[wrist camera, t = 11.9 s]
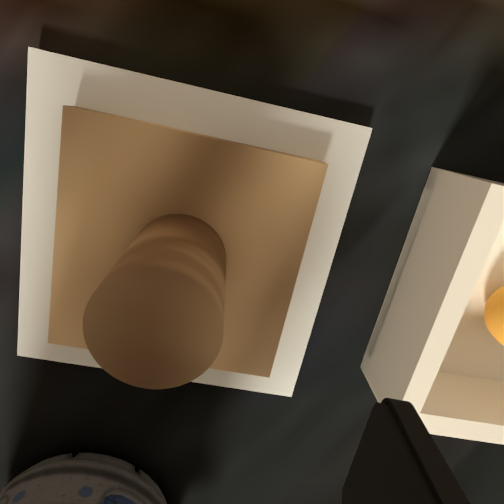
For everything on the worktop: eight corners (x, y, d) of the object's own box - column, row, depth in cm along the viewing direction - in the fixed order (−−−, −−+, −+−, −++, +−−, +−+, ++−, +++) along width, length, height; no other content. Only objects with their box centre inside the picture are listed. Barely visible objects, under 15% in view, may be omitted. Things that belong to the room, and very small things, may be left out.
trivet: (366, 127, 18) (372, 128, 17) (289, 387, 22) (291, 396, 21) (37, 49, 16) (28, 46, 15) (25, 346, 20) (17, 355, 20)
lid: (321, 161, 17) (380, 193, 10) (267, 363, 21) (284, 487, 14) (74, 105, 16) (-41, 101, 9) (58, 329, 19) (-36, 447, 13)
